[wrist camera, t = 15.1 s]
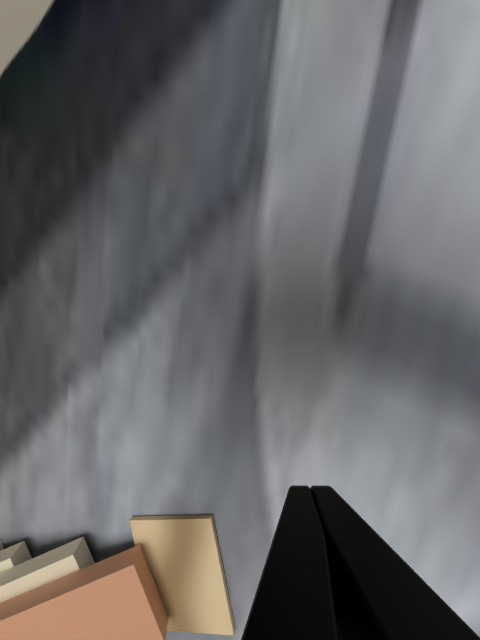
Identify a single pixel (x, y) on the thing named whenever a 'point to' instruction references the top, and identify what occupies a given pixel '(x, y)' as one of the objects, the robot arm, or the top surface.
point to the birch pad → (186, 571)
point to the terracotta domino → (90, 604)
